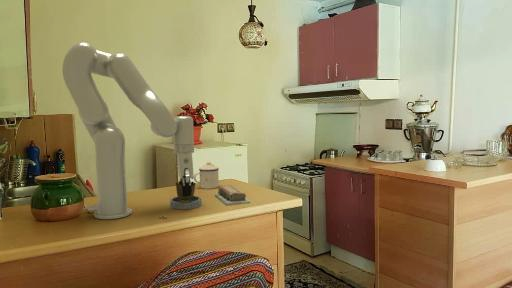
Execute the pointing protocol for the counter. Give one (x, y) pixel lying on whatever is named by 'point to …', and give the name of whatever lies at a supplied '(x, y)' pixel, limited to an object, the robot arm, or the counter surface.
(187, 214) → the counter surface
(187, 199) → the dark rounded textured piece
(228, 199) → the packaged product
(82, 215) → the counter surface
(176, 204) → the blue-grey plate
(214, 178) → the teacup with lid
